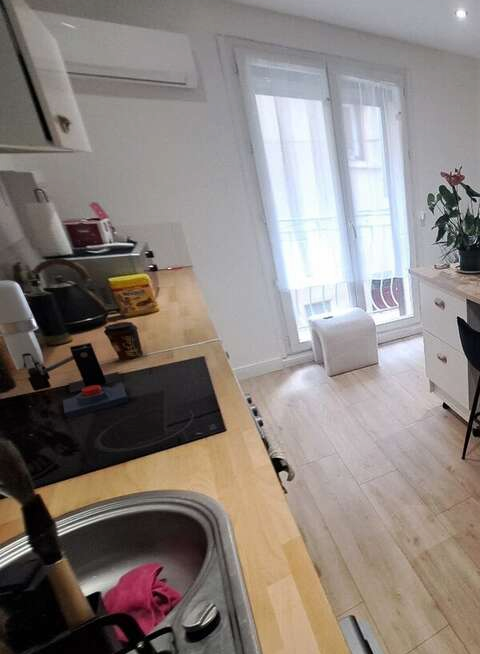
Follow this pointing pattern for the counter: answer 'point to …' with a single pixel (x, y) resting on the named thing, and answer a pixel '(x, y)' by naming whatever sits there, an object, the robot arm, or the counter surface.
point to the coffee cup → (124, 340)
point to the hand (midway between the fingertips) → (42, 384)
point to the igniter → (94, 401)
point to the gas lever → (59, 363)
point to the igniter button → (91, 390)
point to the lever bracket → (89, 369)
